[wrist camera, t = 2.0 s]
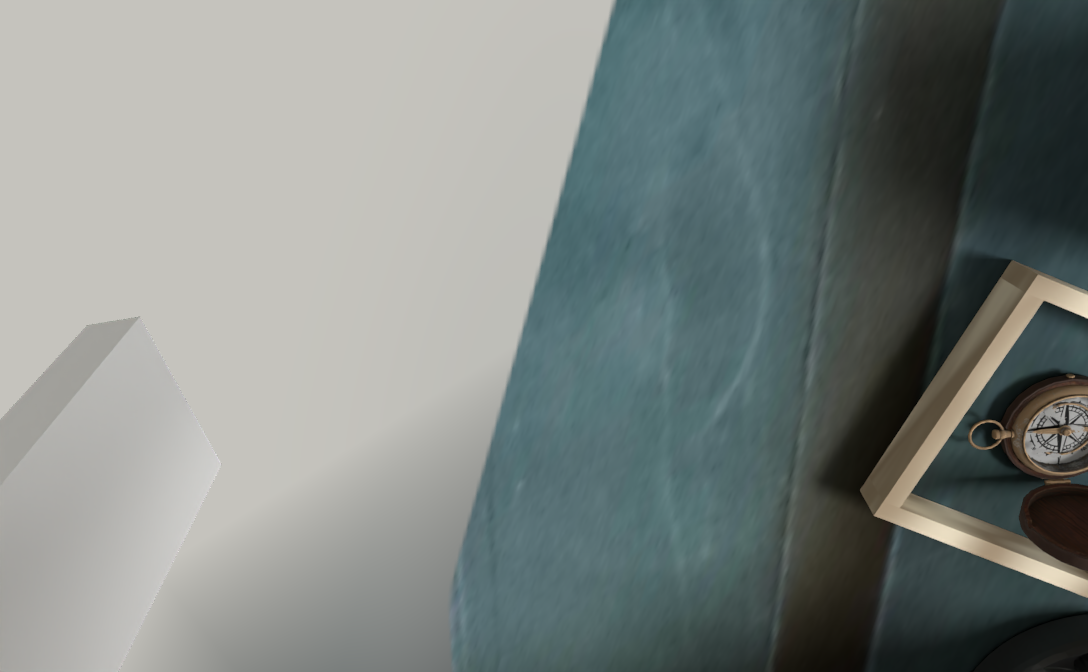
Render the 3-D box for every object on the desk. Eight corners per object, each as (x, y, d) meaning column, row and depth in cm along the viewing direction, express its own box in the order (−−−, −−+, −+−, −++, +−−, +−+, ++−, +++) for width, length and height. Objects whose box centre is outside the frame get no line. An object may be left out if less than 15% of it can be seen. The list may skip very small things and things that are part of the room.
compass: (1125, 366, 40) (1230, 433, 33) (1101, 493, 43) (1194, 579, 36) (966, 375, 41) (1037, 443, 34) (953, 499, 44) (1016, 584, 37)
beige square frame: (1268, 366, 39) (1309, 386, 37) (1087, 577, 45) (1113, 607, 42) (1012, 259, 38) (1038, 274, 36) (859, 490, 44) (873, 515, 41)
